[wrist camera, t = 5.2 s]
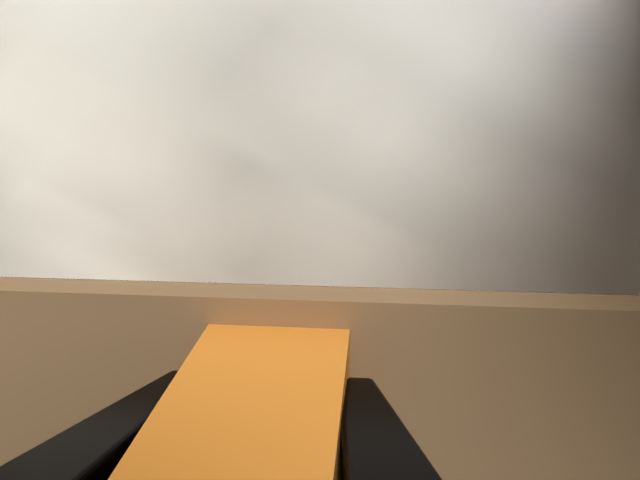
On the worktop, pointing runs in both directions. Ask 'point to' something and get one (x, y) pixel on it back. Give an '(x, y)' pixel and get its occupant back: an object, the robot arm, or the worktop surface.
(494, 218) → the worktop surface
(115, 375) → the lid
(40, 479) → the robot arm
